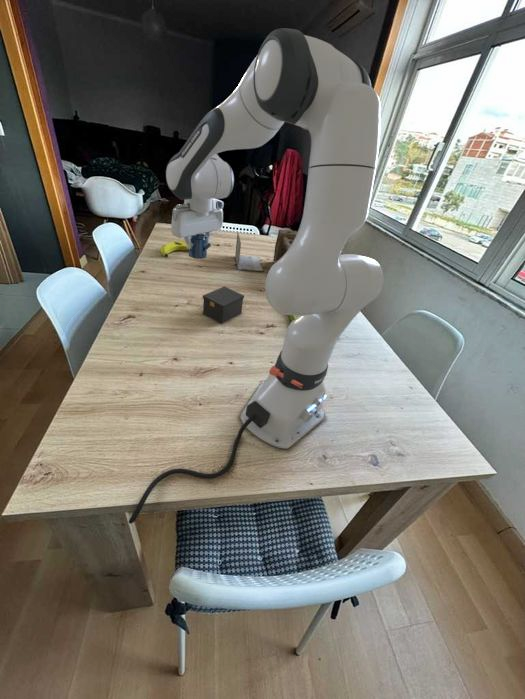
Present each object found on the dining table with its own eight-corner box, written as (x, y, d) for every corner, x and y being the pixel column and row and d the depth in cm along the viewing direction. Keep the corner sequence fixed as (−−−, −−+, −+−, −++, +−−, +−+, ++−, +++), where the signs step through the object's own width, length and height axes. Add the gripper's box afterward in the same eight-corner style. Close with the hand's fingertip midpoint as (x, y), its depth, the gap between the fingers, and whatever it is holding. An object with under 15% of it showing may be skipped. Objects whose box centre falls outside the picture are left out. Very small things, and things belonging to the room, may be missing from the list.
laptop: (262, 272, 144) (266, 245, 136) (237, 269, 141) (240, 242, 134) (258, 258, 158) (261, 233, 150) (234, 256, 155) (237, 231, 148)
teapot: (181, 252, 102) (180, 229, 97) (193, 249, 106) (193, 227, 101) (203, 263, 98) (204, 239, 93) (215, 259, 102) (217, 236, 97)
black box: (221, 324, 101) (222, 306, 97) (201, 314, 105) (201, 295, 101) (242, 313, 110) (244, 295, 105) (223, 303, 113) (224, 286, 109)
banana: (155, 246, 138) (184, 259, 137) (174, 235, 151) (200, 246, 150) (155, 255, 141) (183, 267, 141) (173, 243, 154) (199, 254, 153)
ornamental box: (316, 298, 135) (332, 261, 124) (280, 291, 130) (294, 251, 119) (299, 266, 162) (312, 233, 151) (269, 259, 157) (280, 225, 146)
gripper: (180, 208, 83) (181, 255, 92) (227, 202, 98) (224, 243, 106) (165, 202, 86) (167, 248, 94) (213, 197, 100) (211, 238, 108)
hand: (198, 246), depth 100 cm, fingers closed on teapot, 6 cm apart
